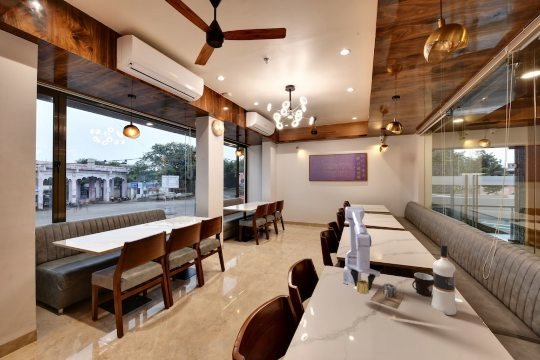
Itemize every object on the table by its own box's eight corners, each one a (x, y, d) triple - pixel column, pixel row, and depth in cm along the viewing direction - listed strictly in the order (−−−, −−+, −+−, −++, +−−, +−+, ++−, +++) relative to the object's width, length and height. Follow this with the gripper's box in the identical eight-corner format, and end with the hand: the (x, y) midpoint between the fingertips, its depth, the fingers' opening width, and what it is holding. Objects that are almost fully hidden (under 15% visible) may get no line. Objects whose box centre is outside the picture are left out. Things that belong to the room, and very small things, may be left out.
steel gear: (384, 296, 116) (384, 287, 116) (382, 291, 121) (382, 282, 121) (396, 298, 114) (396, 289, 114) (394, 292, 119) (394, 284, 119)
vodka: (436, 302, 112) (437, 241, 112) (459, 311, 105) (460, 246, 104) (427, 308, 107) (428, 244, 107) (451, 318, 99) (452, 249, 99)
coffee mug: (427, 291, 123) (427, 273, 123) (437, 300, 114) (438, 280, 114) (404, 290, 124) (405, 272, 124) (413, 299, 116) (413, 279, 115)
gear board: (369, 302, 113) (369, 291, 112) (380, 288, 126) (380, 278, 126) (397, 311, 105) (397, 299, 105) (405, 296, 119) (405, 285, 118)
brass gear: (354, 291, 110) (354, 282, 110) (359, 287, 115) (359, 278, 115) (367, 295, 107) (367, 286, 107) (370, 291, 111) (370, 281, 111)
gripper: (345, 258, 112) (344, 285, 112) (376, 265, 103) (376, 295, 103) (350, 254, 117) (350, 280, 118) (381, 261, 108) (380, 289, 108)
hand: (362, 287), depth 111 cm, fingers closed on brass gear, 6 cm apart
